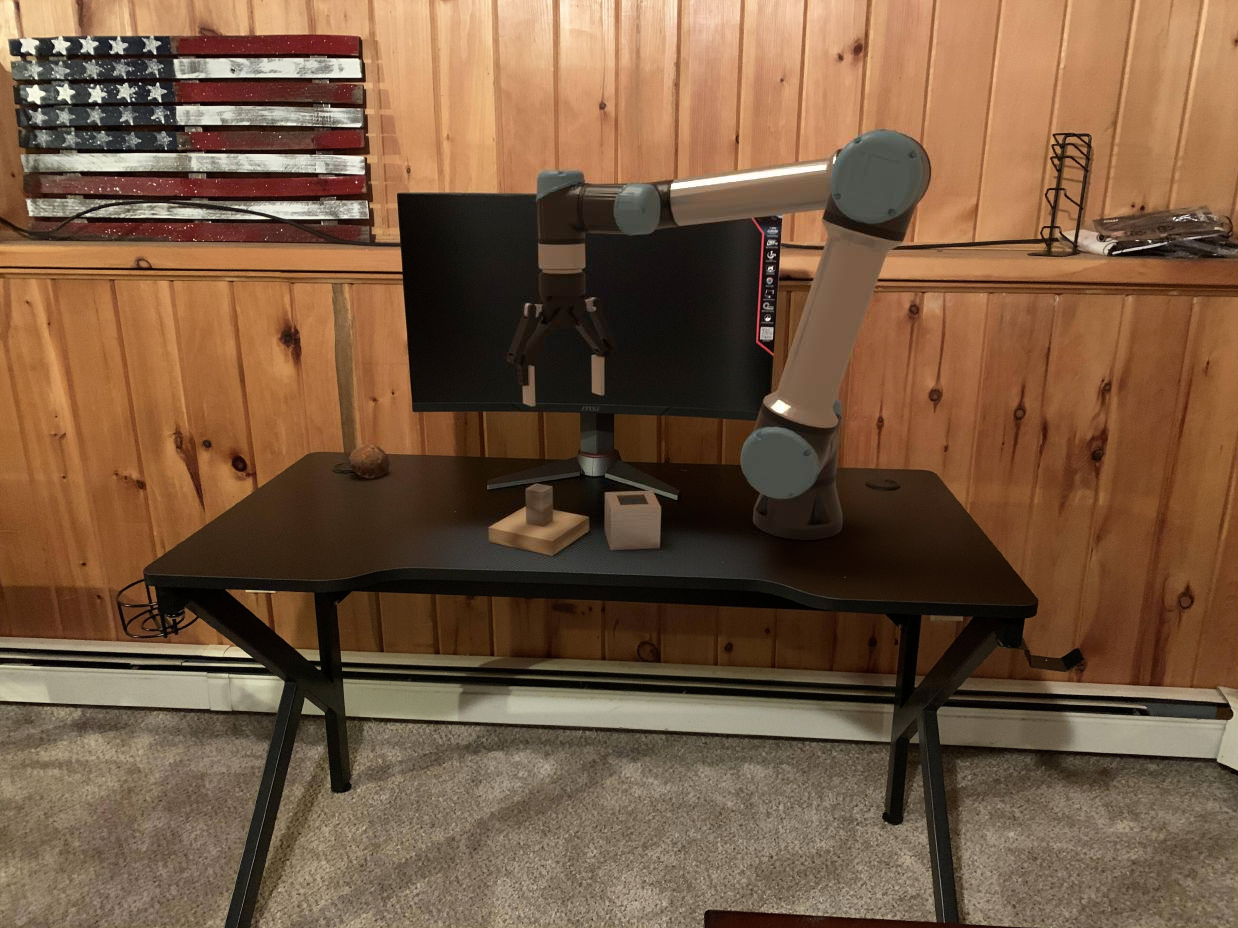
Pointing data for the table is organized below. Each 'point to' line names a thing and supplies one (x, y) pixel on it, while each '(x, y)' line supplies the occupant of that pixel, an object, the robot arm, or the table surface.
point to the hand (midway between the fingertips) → (564, 399)
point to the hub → (632, 520)
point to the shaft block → (539, 524)
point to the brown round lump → (369, 461)
